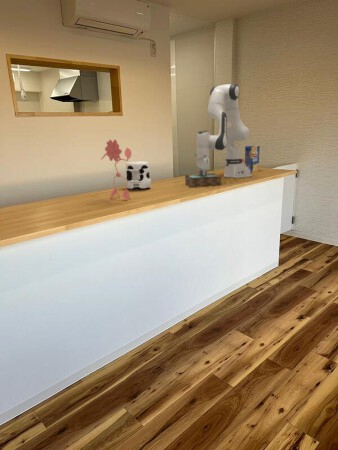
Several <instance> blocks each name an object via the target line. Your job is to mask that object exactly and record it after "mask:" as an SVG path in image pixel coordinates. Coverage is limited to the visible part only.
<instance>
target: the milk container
mask: <svg viewBox="0 0 338 450" xmlns="http://www.w3.org/2000/svg"><path fill="white" fill-rule="evenodd" d="M125 165H126V166H125V168H126V169H125V172H126V179H127V180H128V182H127V180H126V179H125V186H126V185H127V190H131V191H141V190H147V189H150V188H151V186H152V179H151V175H150V164H149V161H145V160H144V161H138V160H137V161H127V162H125Z"/></svg>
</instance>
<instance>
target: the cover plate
mask: <svg viewBox="0 0 338 450" xmlns="http://www.w3.org/2000/svg"><path fill="white" fill-rule="evenodd" d="M207 171H208V170H206V172H205V175H202V173H203V171H200V170H199V171H198V174H199V175H196V174H190V175H191V176H188V177H189V178H198V177H214V176H216V174H215V175H213V173H208V172H207Z"/></svg>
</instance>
